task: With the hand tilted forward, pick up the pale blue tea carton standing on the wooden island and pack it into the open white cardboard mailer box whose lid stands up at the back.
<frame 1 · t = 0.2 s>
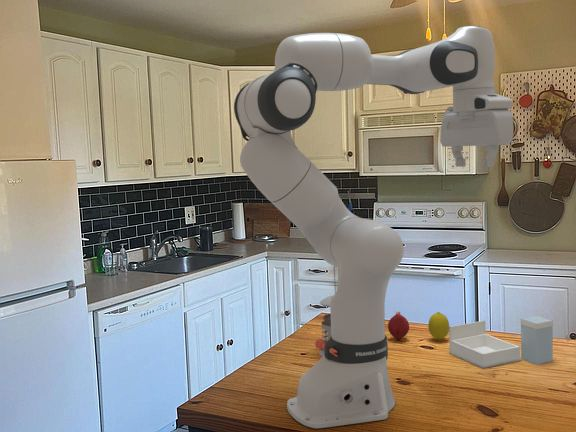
hand: (474, 166, 131), 48 cm above the table, tool pointing down, fingers open, 8 cm apart
onion: (398, 340, 165), on the table
french press: (338, 354, 155), on the table
carton: (536, 359, 144), on the table
lemon: (439, 341, 162), on the table
mailer: (484, 357, 148), on the table
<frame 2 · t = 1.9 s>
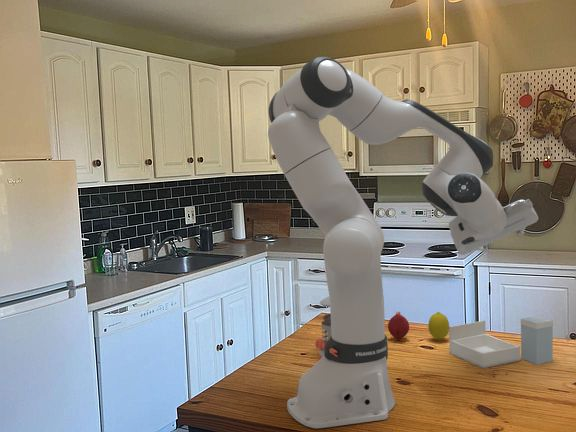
hand: (502, 240, 148), 29 cm above the table, tool tilted 60°, fingers open, 8 cm apart
nothing on the table moved.
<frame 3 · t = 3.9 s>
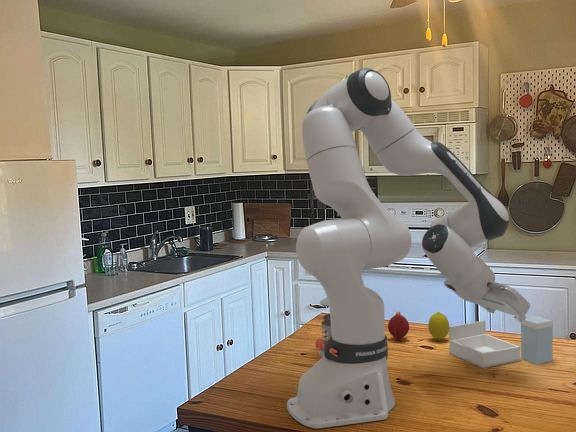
hand: (507, 314, 142), 12 cm above the table, tool tilted 45°, fingers open, 8 cm apart
nothing on the table moved.
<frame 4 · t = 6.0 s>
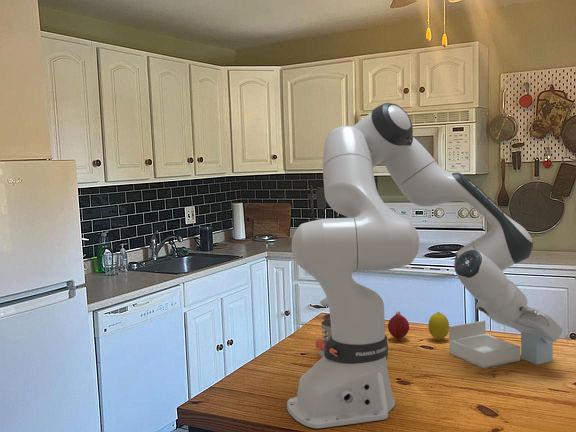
hand: (538, 337, 144), 5 cm above the table, tool tilted 45°, fingers closed on carton, 5 cm apart
carton: (536, 359, 144), on the table, touching gripper
everything else where it was.
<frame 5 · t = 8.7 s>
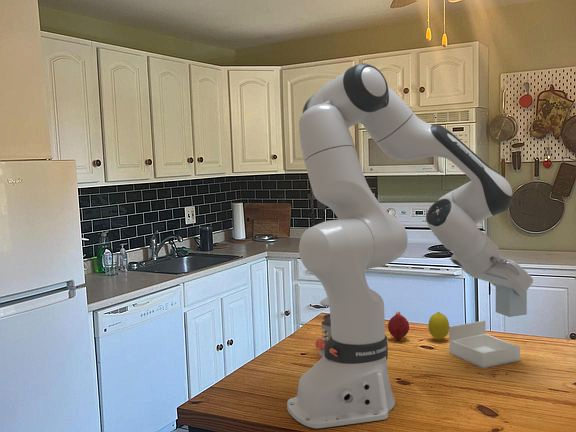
hand: (512, 291, 143), 17 cm above the table, tool tilted 45°, fingers closed on carton, 5 cm apart
carton: (510, 313, 143), point 12 cm above the table, touching gripper
everything else where it was.
when the fingers open (7 cm above the table, at t = 11.5 s): carton drops 1 cm, resting on mailer.
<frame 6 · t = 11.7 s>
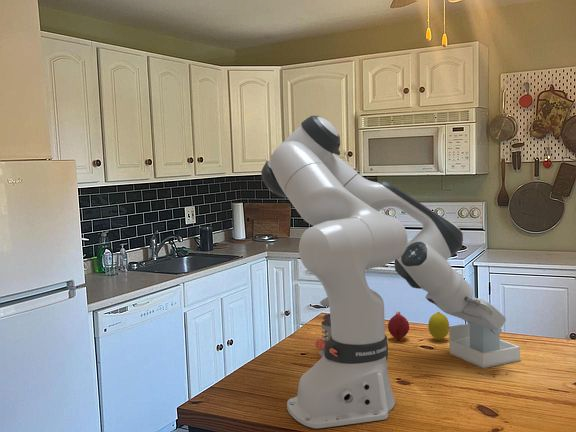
hand: (486, 328, 147), 7 cm above the table, tool tilted 45°, fingers open, 7 cm apart
carton: (484, 355, 148), point 1 cm above the table, touching mailer
everything else where it was.
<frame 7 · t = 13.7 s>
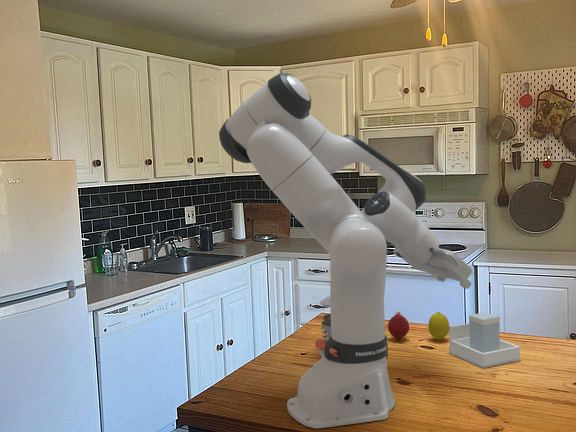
hand: (455, 282, 143), 20 cm above the table, tool tilted 45°, fingers open, 8 cm apart
nothing on the table moved.
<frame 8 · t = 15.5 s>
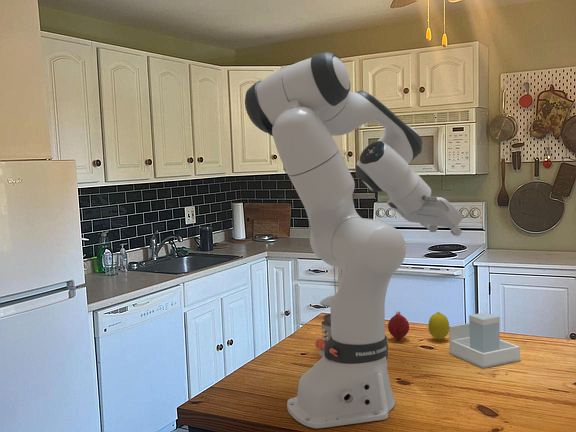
hand: (446, 232, 148), 31 cm above the table, tool tilted 45°, fingers open, 8 cm apart
nothing on the table moved.
at the end: carton inside the target area on the mailer (0.1 cm from its centre), point 0.5 cm above the mailer's base; the gripper is holding nothing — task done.
